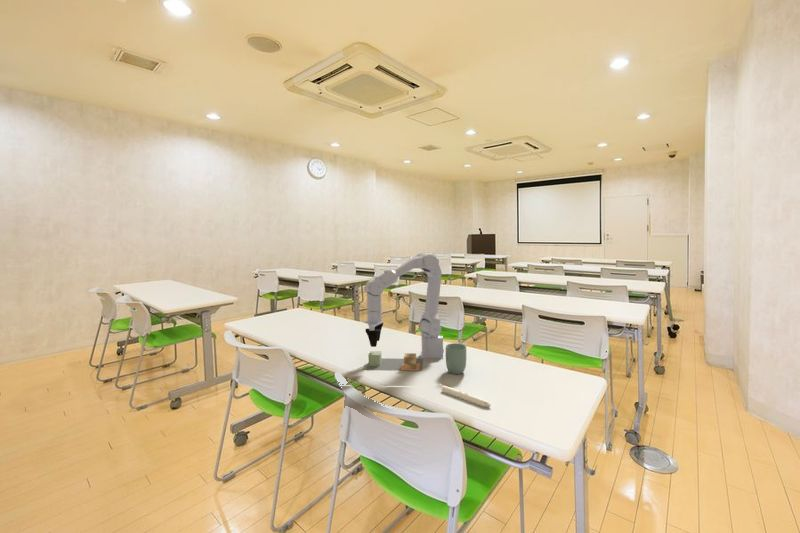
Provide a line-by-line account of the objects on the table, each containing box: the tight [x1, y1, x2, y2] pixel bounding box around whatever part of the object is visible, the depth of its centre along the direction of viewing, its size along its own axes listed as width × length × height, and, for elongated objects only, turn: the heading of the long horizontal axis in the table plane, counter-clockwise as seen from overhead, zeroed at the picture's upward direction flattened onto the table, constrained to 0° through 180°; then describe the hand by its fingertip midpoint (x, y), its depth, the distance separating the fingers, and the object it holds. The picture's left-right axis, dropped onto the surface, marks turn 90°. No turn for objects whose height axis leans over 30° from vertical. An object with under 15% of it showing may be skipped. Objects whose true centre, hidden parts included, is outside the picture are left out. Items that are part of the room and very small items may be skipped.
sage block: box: [367, 350, 382, 366], centre depth 144 cm, size 4×4×4 cm
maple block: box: [403, 352, 417, 369], centre depth 141 cm, size 4×4×4 cm
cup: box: [445, 342, 467, 375], centre depth 135 cm, size 8×8×10 cm
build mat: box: [364, 357, 424, 372], centre depth 144 cm, size 22×13×1 cm, turn 85°
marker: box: [440, 385, 492, 408], centre depth 114 cm, size 18×2×2 cm, turn 45°
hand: (375, 343), depth 144 cm, fingers open, 7 cm apart
